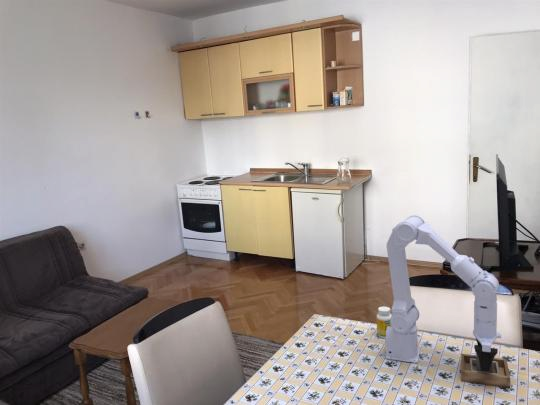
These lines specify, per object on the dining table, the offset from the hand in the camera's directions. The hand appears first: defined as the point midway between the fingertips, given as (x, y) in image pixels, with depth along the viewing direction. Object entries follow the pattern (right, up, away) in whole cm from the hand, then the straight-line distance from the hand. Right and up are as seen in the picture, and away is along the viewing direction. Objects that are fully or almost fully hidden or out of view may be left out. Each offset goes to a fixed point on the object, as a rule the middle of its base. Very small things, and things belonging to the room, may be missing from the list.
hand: (484, 363), depth 126 cm
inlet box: (0, -4, +1) cm, 4 cm away
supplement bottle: (-21, 0, +28) cm, 35 cm away
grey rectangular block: (0, -3, +1) cm, 3 cm away
